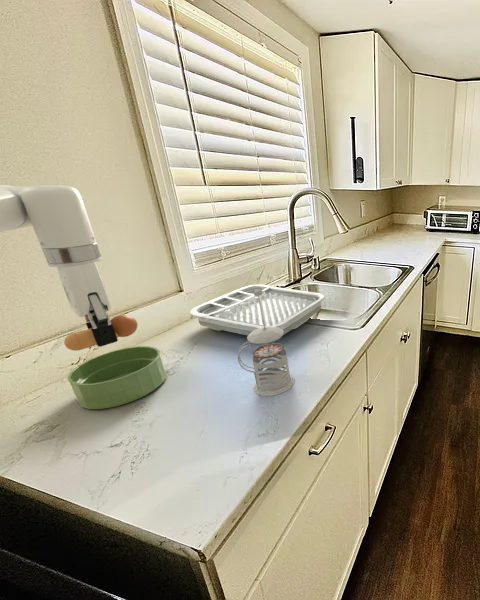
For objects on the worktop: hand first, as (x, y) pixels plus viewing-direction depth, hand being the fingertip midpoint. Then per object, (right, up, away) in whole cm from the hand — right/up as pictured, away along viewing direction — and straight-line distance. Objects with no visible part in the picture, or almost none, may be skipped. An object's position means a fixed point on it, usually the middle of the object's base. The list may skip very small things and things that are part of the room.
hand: (104, 339), depth 68 cm
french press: (+29, -13, +13) cm, 35 cm away
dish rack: (+13, 0, +48) cm, 50 cm away
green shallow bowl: (-6, -13, +12) cm, 19 cm away
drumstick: (0, 0, 0) cm, 0 cm away
